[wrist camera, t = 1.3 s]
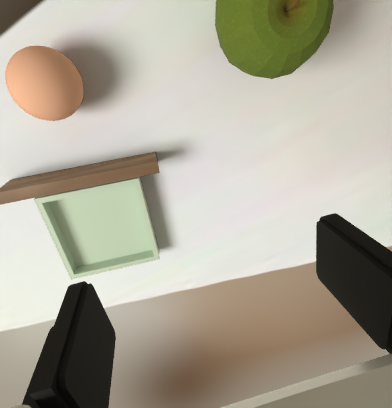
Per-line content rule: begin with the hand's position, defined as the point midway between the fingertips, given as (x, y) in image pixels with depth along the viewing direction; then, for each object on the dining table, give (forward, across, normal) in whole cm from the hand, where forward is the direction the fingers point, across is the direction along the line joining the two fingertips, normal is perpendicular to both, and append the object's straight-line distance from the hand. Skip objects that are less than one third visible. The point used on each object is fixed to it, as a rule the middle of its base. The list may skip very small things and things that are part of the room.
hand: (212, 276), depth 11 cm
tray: (+22, +10, +7) cm, 26 cm away
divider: (+22, +10, 0) cm, 24 cm away
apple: (+23, -10, -10) cm, 27 cm away
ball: (+22, +9, -9) cm, 26 cm away
